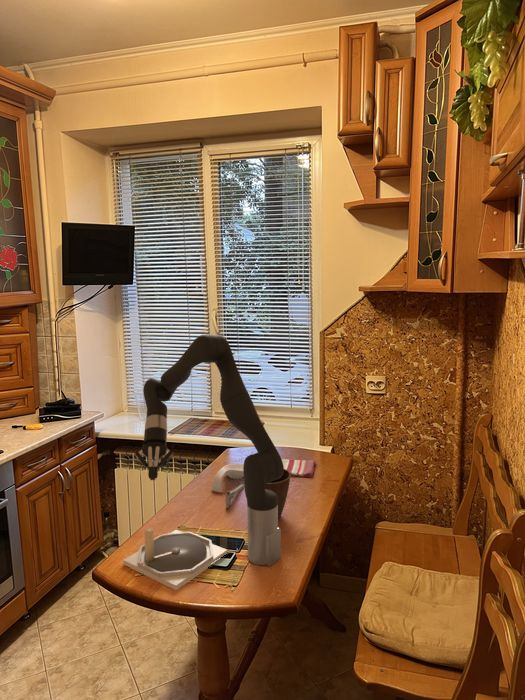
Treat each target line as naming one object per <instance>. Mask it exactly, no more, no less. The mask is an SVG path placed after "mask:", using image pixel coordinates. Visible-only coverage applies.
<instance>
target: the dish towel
mask: <svg viewBox="0 0 525 700" xmlns="http://www.w3.org/2000/svg"><path fill="white" fill-rule="evenodd" d="M281 459H282V462H283V466H284V469H286V470H287V471H289V472H290V477H296V476H300V477H299V478H313V474H314V471H315V467H314V465H315V466H316V461H315V460H314V459H311V460H310V459H309V460H305V459H304V460H303V459H302V460H299V459H287V458H286V459H285V458H281ZM301 476H302V477H301Z"/></svg>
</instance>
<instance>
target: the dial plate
mask: <svg viewBox="0 0 525 700" xmlns="http://www.w3.org/2000/svg"><path fill="white" fill-rule="evenodd" d="M172 536H190V537H194V538H197V539H199V540H201V541H202V542H204V544H205V545H206V548H207V555H206V557H205V559H204V560H203V561H202V562H201V563H199V564H198V565H196V566H195V567H193V568H191V569H187V570H177V571H167V572H161V571H157V570H155V569H153V568H151V567H149V566H148V565H147V564H146V562H145V543H143V544H142V545H140V547H139V550H137V552H134V553H132V554H131V555H129V556H128V557H126V558H124V559H123V560H122V561H123V563H122V564H123V565H124V566H125V565H126V567H127V566H128V568H129V567H130V569H132V570H134V571H136V572H138V573H140V574H141V575H144V576H146V577H148V578H150V579H152V580H154V581H156V582H158V583H160V584H162V585H165V586H166V587H168V588H170V589H172V590H174V591H178V590H180V589H181V588H182V587H183V586H184V585H186V584H188V583H189V582H190V581H192V580H193V579H195V578H196V577H197V576H199V575H200V574H201V573H203V572H204V571H206V570H207V569H209V568H210V567H209V565H210V564H211V563H212V562H214V561H215V560H217V559H219V558H221V557H223V556H224V555H226V554H227V555H228V549H226V548H224V547H221V546H218V545H216V544H214V543H213V542H212V539H210V538H207V537H205V536H202V535H200V534H197V533H195V532H192V531H181V530H178V529H174V530H173V531H171V532H168V533H163V534H159V535H158V536H156V537H154V542H156V541H158V540H161V539H163V538H167V537H172ZM227 555H226V556H227ZM224 557H225V556H224ZM224 557H223V558H224ZM221 559H222V558H221ZM208 567H209V568H208Z"/></svg>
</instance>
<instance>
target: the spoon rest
mask: <svg viewBox="0 0 525 700" xmlns="http://www.w3.org/2000/svg"><path fill="white" fill-rule="evenodd" d="M243 466H244V463H229V464H227V465H224V466H223V467H221V468H220V469H219V470H218V471H217V473H216V474H215V476H214V478H213V481H212V485H211V491H212V492H215V493H223V479H224V477H225V475H226V476H228V478H230V479H232V478H233V479H232V480H241V479H242V478H243V479H244V473H243ZM240 478H241V479H240Z"/></svg>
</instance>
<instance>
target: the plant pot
mask: <svg viewBox="0 0 525 700" xmlns="http://www.w3.org/2000/svg"><path fill="white" fill-rule="evenodd" d="M290 480H291V476H290V472H289V471H287V470H286V469H284V473H283V475H282V477H281V478H279V479H277V480H274V481H272V482H269V483H266V484H265V489H267V490H271V491H273V492H275V493H276V494H277V497H278V521H279V519H280V518H281V516H282V514H283V510H284V508H285V505H286V502H287V498H288V493H289V488H290Z"/></svg>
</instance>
